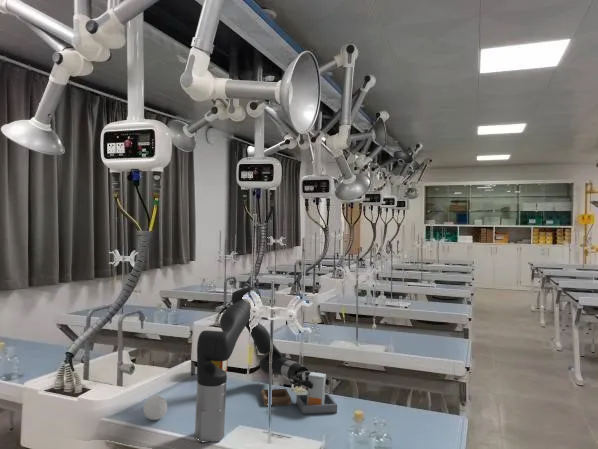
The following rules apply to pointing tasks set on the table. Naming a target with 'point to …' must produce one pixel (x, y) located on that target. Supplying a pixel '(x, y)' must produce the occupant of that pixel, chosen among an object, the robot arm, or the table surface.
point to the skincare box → (316, 389)
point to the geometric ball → (155, 408)
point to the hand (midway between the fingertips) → (320, 384)
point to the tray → (328, 405)
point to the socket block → (277, 397)
